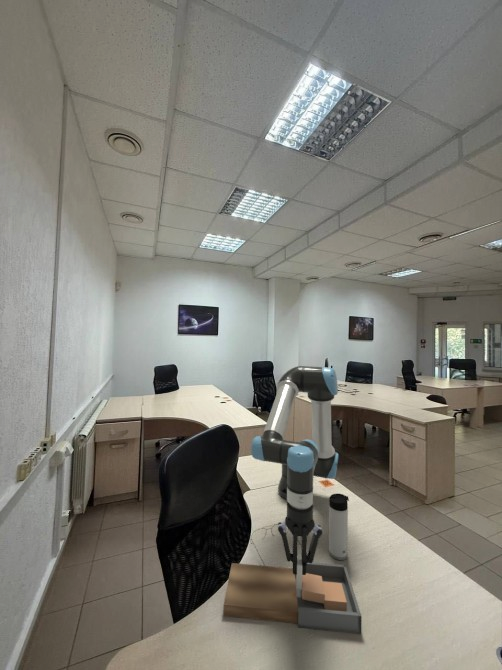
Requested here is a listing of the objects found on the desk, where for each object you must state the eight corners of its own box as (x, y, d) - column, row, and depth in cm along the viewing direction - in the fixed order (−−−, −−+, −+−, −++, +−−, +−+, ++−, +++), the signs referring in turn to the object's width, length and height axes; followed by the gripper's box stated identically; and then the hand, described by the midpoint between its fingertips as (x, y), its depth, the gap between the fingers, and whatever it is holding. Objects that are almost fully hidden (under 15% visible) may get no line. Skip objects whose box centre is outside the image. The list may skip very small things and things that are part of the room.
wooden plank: (231, 572, 89) (231, 563, 89) (294, 577, 87) (294, 568, 87) (223, 615, 75) (223, 604, 75) (298, 623, 73) (298, 611, 73)
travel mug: (349, 562, 93) (350, 502, 93) (329, 559, 94) (329, 500, 95) (347, 548, 99) (347, 492, 100) (328, 545, 101) (328, 490, 101)
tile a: (300, 580, 83) (301, 572, 83) (320, 584, 82) (321, 576, 82) (302, 599, 77) (303, 590, 77) (324, 603, 76) (325, 594, 76)
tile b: (320, 589, 82) (320, 581, 82) (341, 591, 81) (341, 583, 81) (324, 609, 76) (324, 600, 76) (346, 611, 75) (346, 602, 75)
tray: (294, 575, 88) (294, 560, 88) (345, 579, 86) (345, 565, 86) (298, 627, 72) (298, 609, 72) (361, 633, 70) (361, 616, 71)
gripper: (277, 508, 77) (276, 594, 77) (325, 512, 76) (324, 598, 76) (277, 493, 85) (276, 571, 84) (320, 496, 83) (319, 575, 83)
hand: (299, 584), depth 80 cm, fingers closed
